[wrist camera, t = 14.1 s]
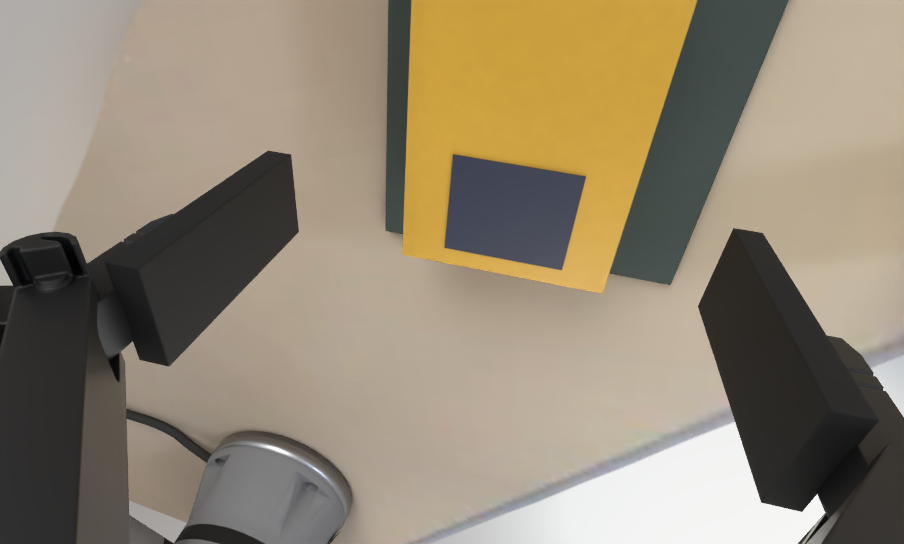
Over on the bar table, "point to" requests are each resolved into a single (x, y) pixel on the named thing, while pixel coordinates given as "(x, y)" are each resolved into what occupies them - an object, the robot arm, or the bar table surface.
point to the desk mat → (675, 139)
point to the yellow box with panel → (533, 130)
